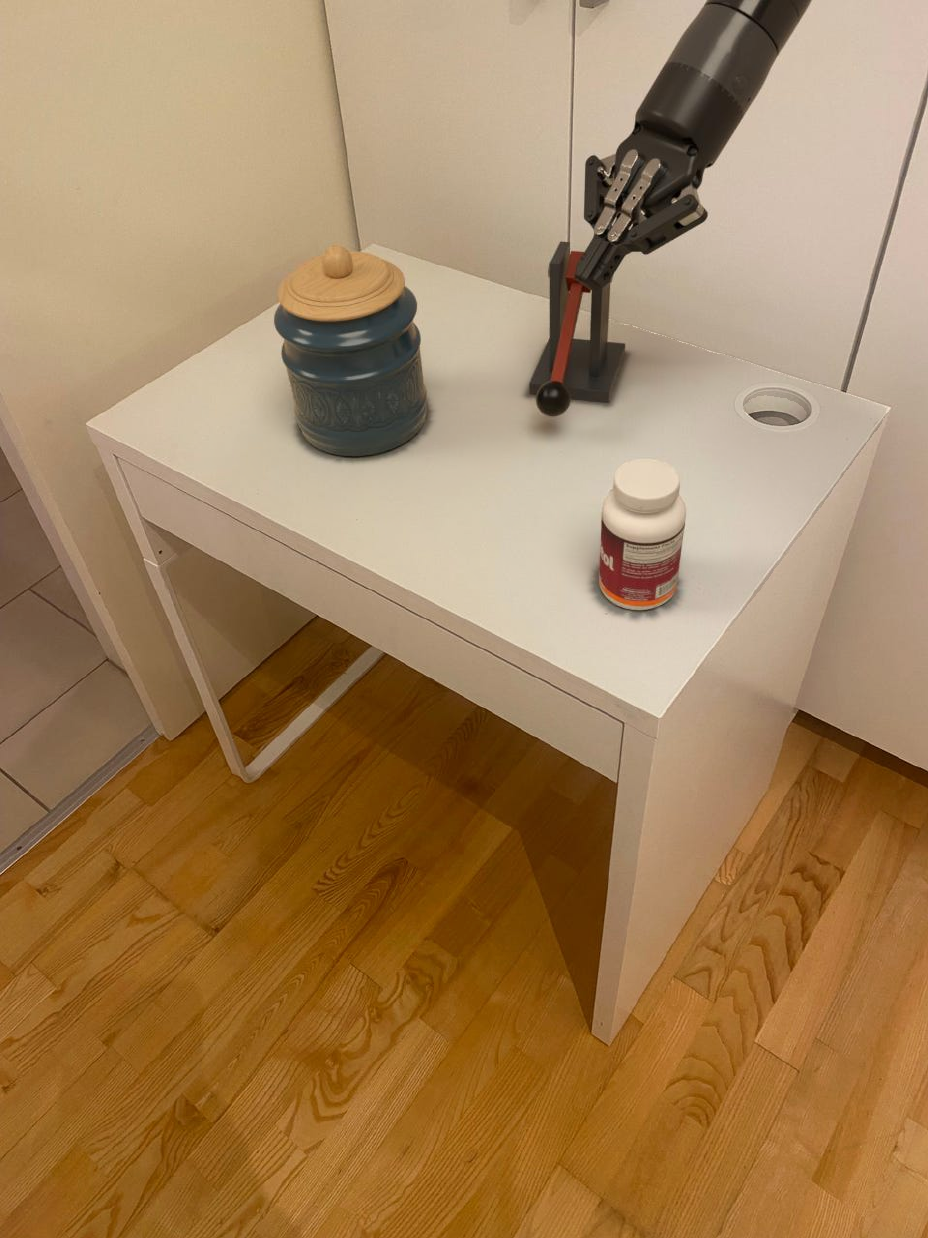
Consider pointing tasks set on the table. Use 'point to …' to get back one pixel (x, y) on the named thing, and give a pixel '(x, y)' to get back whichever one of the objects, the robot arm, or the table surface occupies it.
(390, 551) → the table surface
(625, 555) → the pill bottle
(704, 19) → the robot arm
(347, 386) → the canister
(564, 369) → the lever
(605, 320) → the bracket
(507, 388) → the table surface
